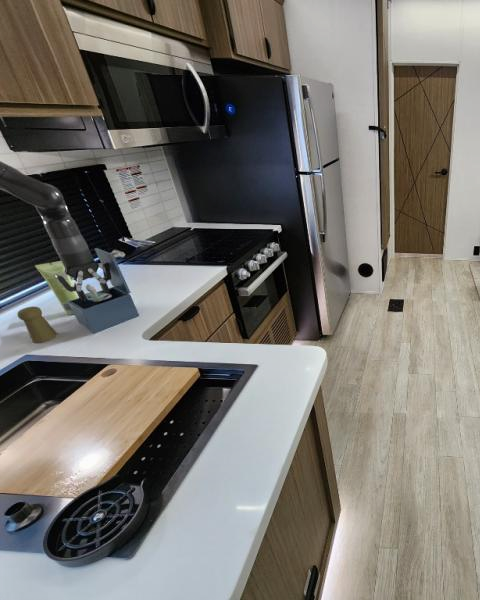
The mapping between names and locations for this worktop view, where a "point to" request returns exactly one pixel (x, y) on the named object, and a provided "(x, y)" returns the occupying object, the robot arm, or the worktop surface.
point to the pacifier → (95, 294)
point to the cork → (36, 325)
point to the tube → (58, 283)
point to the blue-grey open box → (104, 310)
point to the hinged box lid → (114, 268)
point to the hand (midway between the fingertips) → (95, 296)
